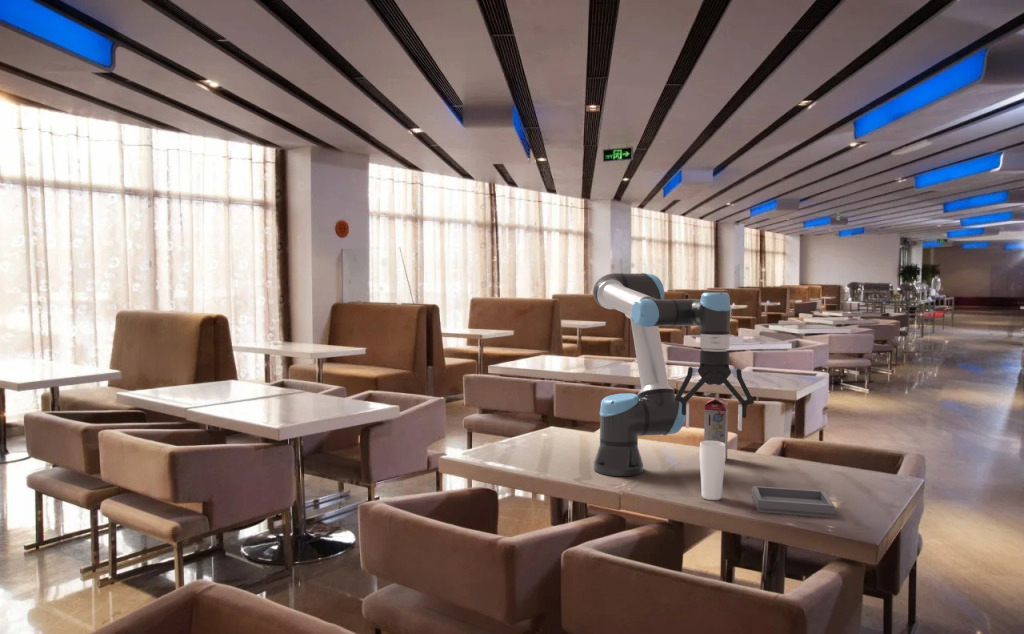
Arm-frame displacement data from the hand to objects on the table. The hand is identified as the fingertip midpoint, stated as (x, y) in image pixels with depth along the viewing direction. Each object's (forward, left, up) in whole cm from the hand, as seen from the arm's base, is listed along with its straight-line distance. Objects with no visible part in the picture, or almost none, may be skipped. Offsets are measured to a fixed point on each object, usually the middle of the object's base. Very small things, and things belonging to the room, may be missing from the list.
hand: (713, 428), depth 189 cm
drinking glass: (0, 0, -19) cm, 19 cm away
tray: (+20, -2, -19) cm, 28 cm away
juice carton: (+3, +44, -19) cm, 48 cm away
